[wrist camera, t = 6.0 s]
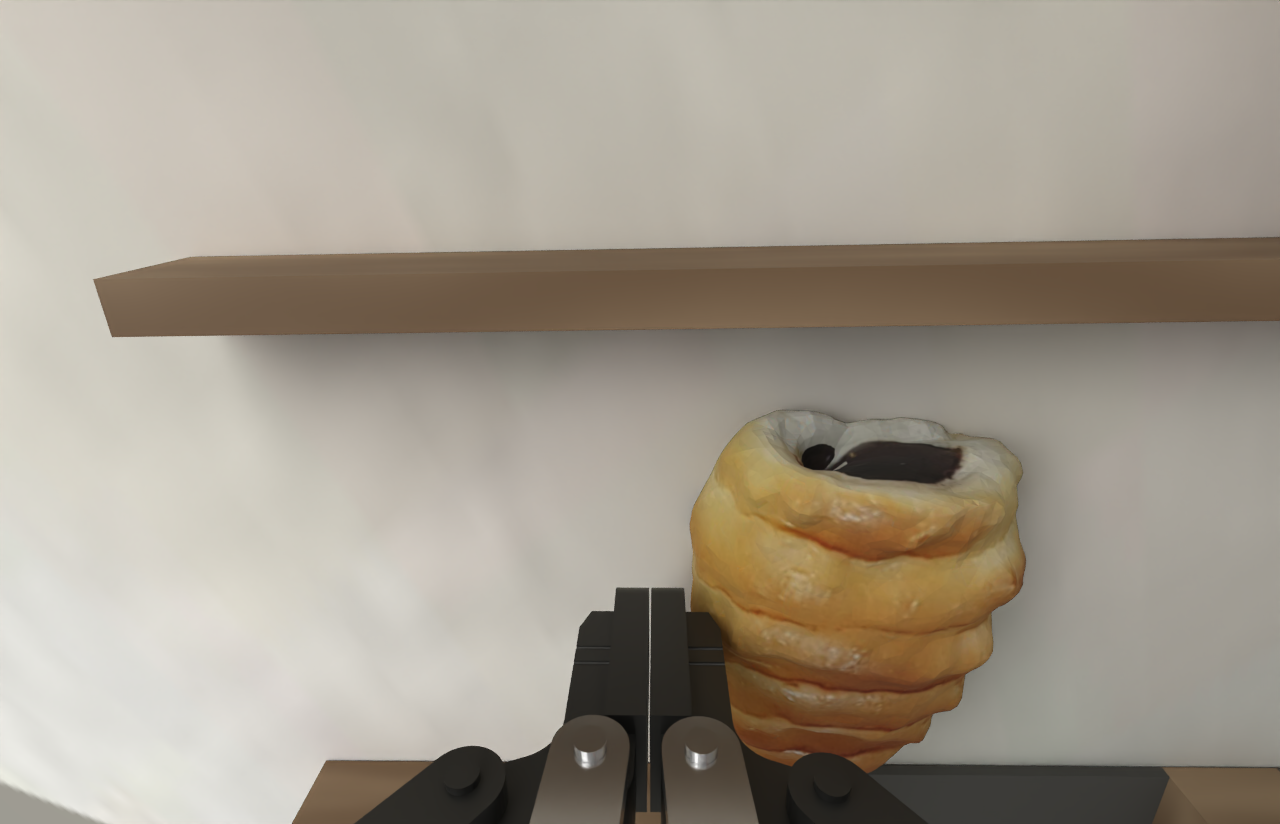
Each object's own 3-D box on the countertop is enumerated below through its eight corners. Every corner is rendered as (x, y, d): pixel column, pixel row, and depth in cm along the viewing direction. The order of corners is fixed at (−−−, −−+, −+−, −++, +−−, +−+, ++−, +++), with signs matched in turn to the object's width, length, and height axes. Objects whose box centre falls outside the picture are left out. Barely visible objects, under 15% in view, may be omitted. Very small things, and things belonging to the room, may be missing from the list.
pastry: (917, 729, 18) (980, 872, 14) (669, 713, 18) (671, 851, 15) (1004, 409, 14) (1115, 492, 11) (697, 391, 15) (708, 468, 11)
